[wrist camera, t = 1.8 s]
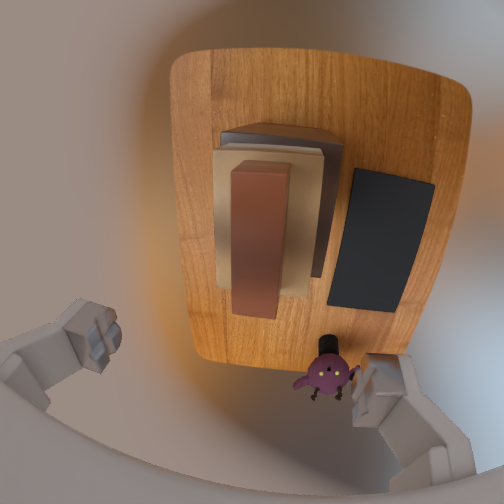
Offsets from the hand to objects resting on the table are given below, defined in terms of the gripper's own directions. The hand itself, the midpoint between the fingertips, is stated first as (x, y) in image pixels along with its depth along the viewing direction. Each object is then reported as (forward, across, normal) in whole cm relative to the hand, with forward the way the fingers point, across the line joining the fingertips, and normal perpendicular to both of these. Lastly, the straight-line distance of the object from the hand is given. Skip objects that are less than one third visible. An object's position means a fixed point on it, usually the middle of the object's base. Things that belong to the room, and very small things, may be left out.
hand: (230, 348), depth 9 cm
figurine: (+29, -10, +27) cm, 41 cm away
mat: (+29, -14, +9) cm, 33 cm away
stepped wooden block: (+13, 0, 0) cm, 13 cm away
